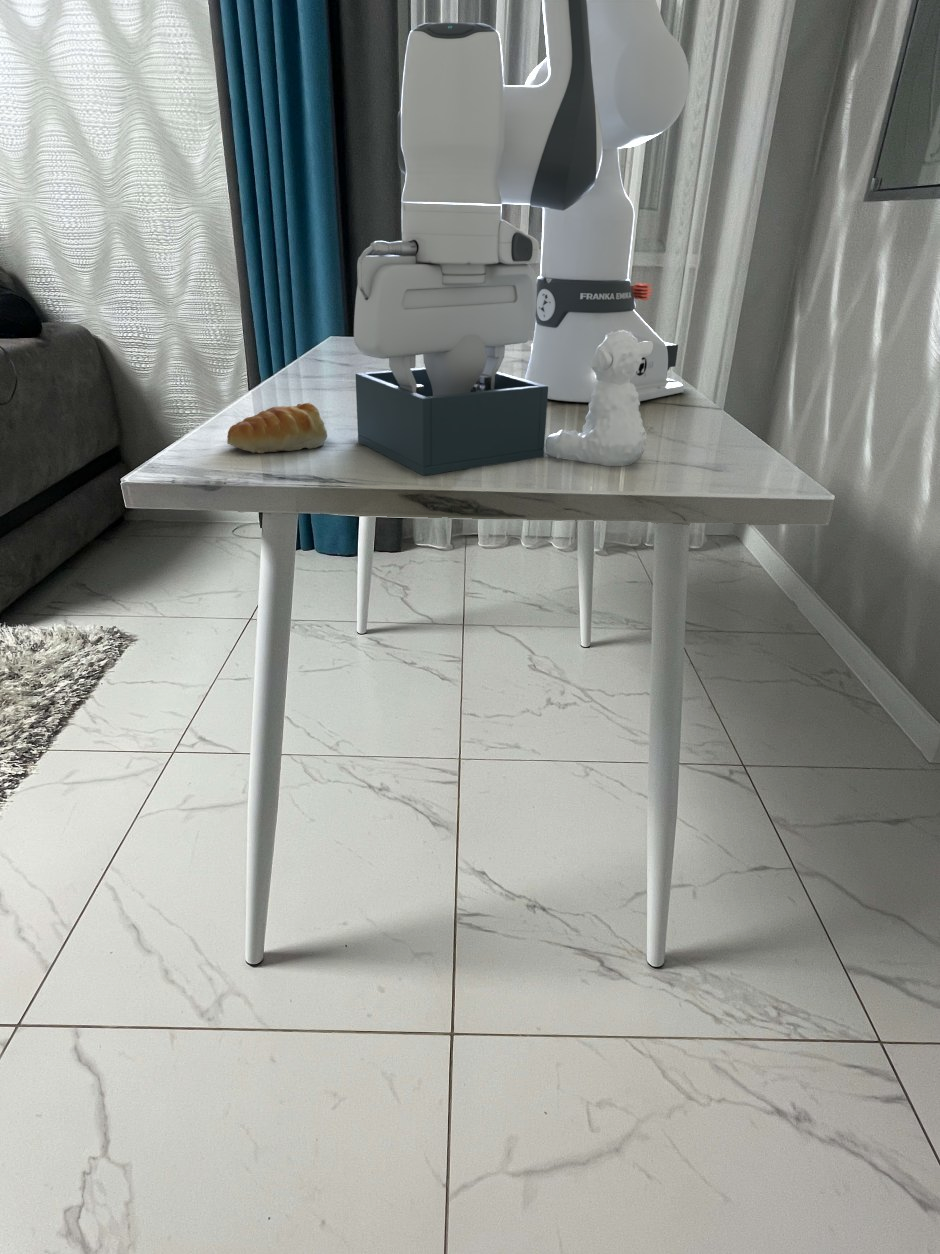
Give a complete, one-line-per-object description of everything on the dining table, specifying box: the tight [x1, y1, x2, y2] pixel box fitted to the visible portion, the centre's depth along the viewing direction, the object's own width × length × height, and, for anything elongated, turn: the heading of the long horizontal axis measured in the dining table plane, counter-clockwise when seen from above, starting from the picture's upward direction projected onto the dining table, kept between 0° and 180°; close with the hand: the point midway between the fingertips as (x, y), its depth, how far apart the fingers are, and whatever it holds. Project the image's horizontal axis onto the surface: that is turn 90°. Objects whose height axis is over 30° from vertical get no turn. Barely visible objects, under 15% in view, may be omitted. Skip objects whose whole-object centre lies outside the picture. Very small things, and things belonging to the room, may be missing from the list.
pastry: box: [226, 402, 328, 454], centre depth 80 cm, size 9×7×4 cm
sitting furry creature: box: [544, 330, 653, 467], centre depth 77 cm, size 10×9×12 cm
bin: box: [354, 367, 549, 476], centre depth 80 cm, size 14×14×7 cm
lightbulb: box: [422, 334, 487, 396], centre depth 79 cm, size 6×6×11 cm
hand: (448, 398), depth 79 cm, fingers open, 8 cm apart
